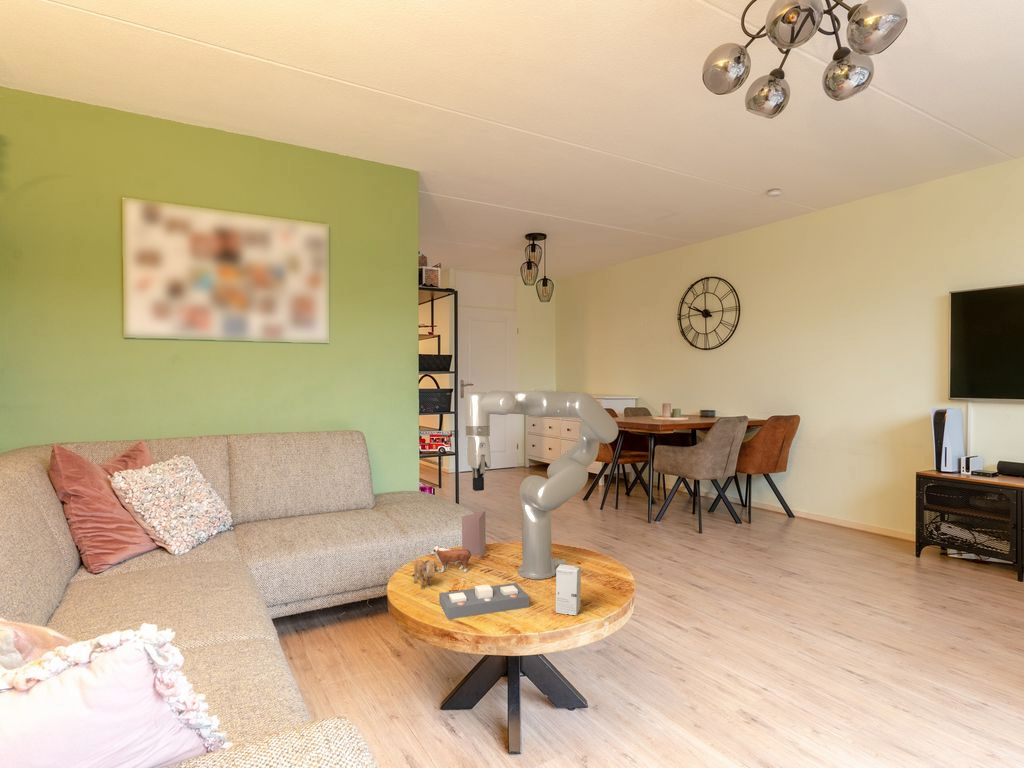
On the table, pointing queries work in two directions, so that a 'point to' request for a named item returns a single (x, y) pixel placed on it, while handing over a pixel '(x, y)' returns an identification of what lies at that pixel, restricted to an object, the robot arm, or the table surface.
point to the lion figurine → (425, 571)
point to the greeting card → (474, 533)
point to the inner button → (508, 590)
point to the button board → (483, 602)
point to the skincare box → (568, 589)
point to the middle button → (483, 591)
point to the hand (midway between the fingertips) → (478, 490)
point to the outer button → (457, 597)
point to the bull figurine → (452, 557)
